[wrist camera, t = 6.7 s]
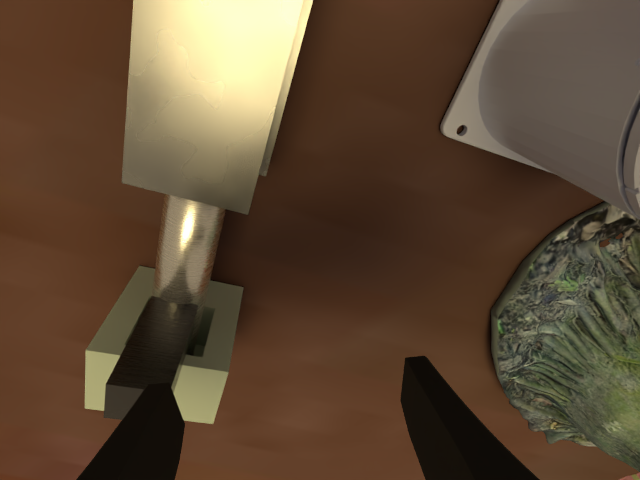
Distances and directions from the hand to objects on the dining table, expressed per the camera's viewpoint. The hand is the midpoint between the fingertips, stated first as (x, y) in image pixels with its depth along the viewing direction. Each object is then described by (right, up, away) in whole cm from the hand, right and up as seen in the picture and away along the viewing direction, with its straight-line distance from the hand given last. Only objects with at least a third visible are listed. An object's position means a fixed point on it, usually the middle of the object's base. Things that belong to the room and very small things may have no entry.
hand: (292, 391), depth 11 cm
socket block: (-7, +1, +11) cm, 13 cm away
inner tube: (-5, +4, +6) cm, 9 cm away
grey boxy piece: (-3, +13, +5) cm, 14 cm away
